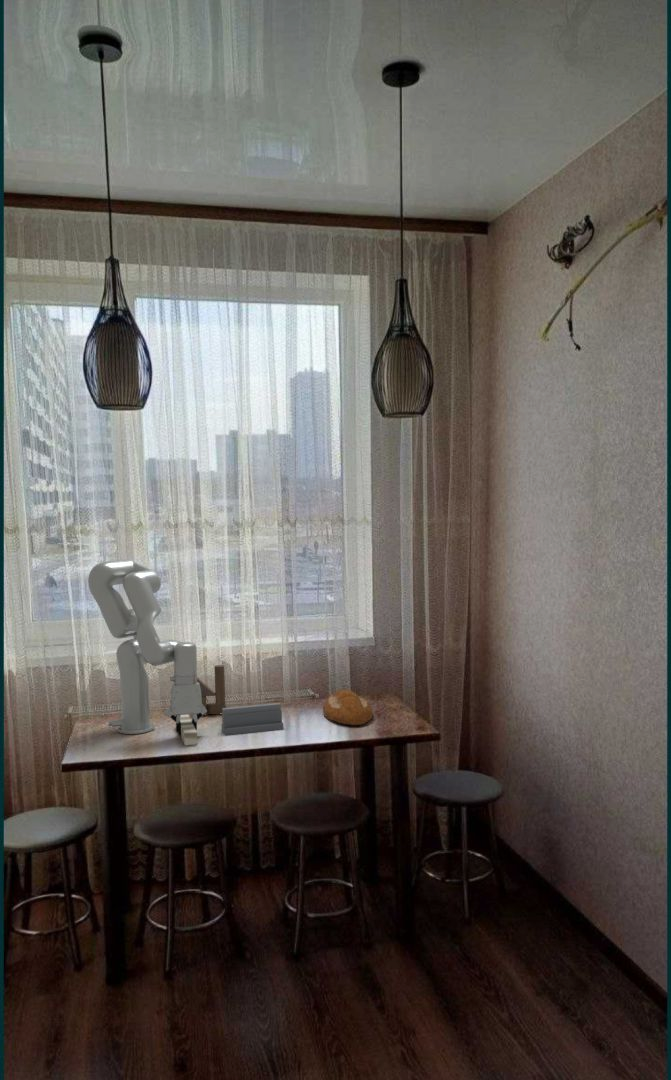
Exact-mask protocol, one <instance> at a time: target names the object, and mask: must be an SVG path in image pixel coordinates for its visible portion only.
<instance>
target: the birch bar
mask: <svg viewBox="0 0 671 1080" xmlns="http://www.w3.org/2000/svg"><path fill="white" fill-rule="evenodd" d="M180 722H181V735H180V737H181V739H182V742H183V744H184V746H196V745H198V731H197V730H196V729H195V727H194V725H193V723H192V719H191V717H190V714H186V715H181V716H180Z"/></svg>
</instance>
